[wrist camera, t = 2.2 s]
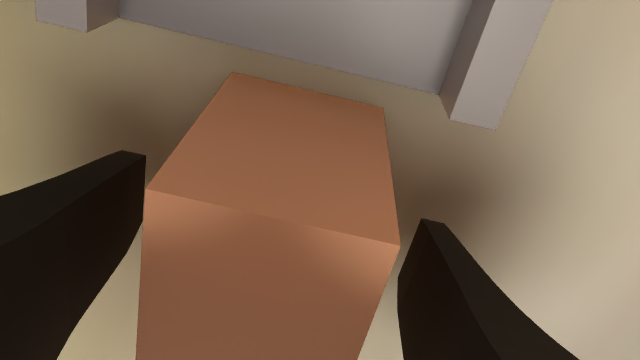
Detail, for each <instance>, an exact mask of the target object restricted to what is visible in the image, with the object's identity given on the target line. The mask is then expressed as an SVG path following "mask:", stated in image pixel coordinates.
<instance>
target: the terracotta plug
mask: <svg viewBox="0 0 640 360" xmlns="http://www.w3.org/2000/svg"><path fill="white" fill-rule="evenodd" d="M400 247H401V243H400V236H399V228H398V220H397V212H396V205H395V197H394V189H393V181H392V173H391V166H390V158H389V150H388V142H387V134H386V127H385V119H384V111H383V108H381V107H376V106H372V105H368V104H364V103H360V102H356V101H351V100H347V99H343V98H339V97H335V96H330V95H326V94H322V93H318V92H314V91H309V90H305V89H301V88H297V87H293V86H288V85H284V84H280V83H276V82H272V81H268V80H263V79H259V78H255V77H251V76H247V75H242V74H238V73H234V72H232V73H231V74H230V76H229V77H228V78H227V80H226V81H225V82H224V84H223V85H222V86H221V88H220V89H219V90H218V92H217V93H216V94H215V96H214V97H213V98H212V100H211V101H210V102H209V104H208V105H207V106H206V108H205V109H204V110H203V112H202V113H201V115H200V116H199V117H198V119H197V120H196V121H195V123H194V124H193V125H192V127H191V128H190V129H189V131H188V132H187V133H186V135H185V136H184V137H183V139H182V140H181V141H180V143H179V144H178V145H177V147H176V148H175V149H174V151H173V152H172V153H171V155H170V156H169V157H168V159H167V160H166V161H165V163H164V164H163V165H162V167H161V168H160V170H159V171H158V172H157V174H156V175H155V176H154V178H153V179H152V180H151V182H150V183H149V184H148V186H147V187H146V188H145V201H144V219H143V237H142V255H141V273H140V291H139V309H138V327H137V345H136V360H357V359H358V356H359V353H360V351H361V348H362V346H363V343H364V340H365V338H366V335H367V333H368V330H369V327H370V325H371V322H372V320H373V317H374V314H375V312H376V309H377V307H378V304H379V301H380V299H381V296H382V294H383V291H384V288H385V286H386V283H387V281H388V278H389V276H390V273H391V270H392V268H393V265H394V263H395V260H396V257H397V255H398V252H399V250H400Z"/></svg>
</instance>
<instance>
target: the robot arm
mask: <svg viewBox="0 0 640 360" xmlns="http://www.w3.org/2000/svg"><path fill="white" fill-rule="evenodd" d="M145 166H146V156H145V155H141V154H137V153H132V152H128V151H123V150H121V151H118V152H115V153H113V154H110V155H107V156H105V157H103V158H100V159H98V160H95V161H93V162H91V163H88V164H86V165H83V166H81V167H79V168H76V169H74V170H71V171H69V172H66V173H64V174H62V175H59V176H57V177H54V178H51V179H48V180H46V181H43V182H40V183H37V184H35V185H32V186H29V187H26V188H23V189H21V190H18V191H15V192H12V193H9V194H5V195H2V196H0V360H57V358H58V356H59V354H60V352H61V351H62V349H63V347H64V345H65V343H66V341H67V340H68V338H69V336H70V334H71V333H72V331H73V330H74V328H75V327H76V325H77V323H78V322H79V320H80V319H81V317H82V316H83V315H84V313H85V312H86V310H87V309H88V307H89V306H90V305H91V303H92V302H93V300H94V299H95V298H96V296H97V295H98V293H99V292H100V290H101V289H102V288H103V286H104V285H105V283H106V282H107V281H108V279H109V278H110V276H111V275H112V273H113V272H114V271H115V269H116V268H117V266H118V265H119V263H120V262H121V260H122V259H123V257H124V256H125V254H126V253H127V251H128V249H129V247H130V245H131V244H132V242H133V240H134V238H135V236H136V234H137V232H138V230H139V227H140V225H141V223H142V221H143V203H144V185H145ZM397 311H398V320H399V328H400V336H401V343H402V350H403V358H404V360H579V359H578V358H577V357H575V356H574V355H573V354H571V353H570V352H569V351H568V350H566V349H565V348H564V347H562V346H561V345H560V344H559V343H557V342H556V341H555V340H554V339H552V338H551V337H550V336H549V335H548V334H546V333H545V332H544V331H543V330H542V329H541V328H540V327H539V326H538V325H536V324H535V323H534V322H533V321H532V320H531V319H530V318H529V317H528V316H526V315H525V314H524V313H523V312H522V311H521V310H520V309H519V308H518V307H517V306H516V305H515V304H514V303H513V302H512V301H511V300H510V299H509V298H508V297H507V296H506V295H505V294H504V293H503V291H502V290H501V289H500V288H499V287H498V286H497V285H496V284H495V283H494V282H493V281H492V279H491V278H490V277H489V276H488V275H487V274H486V273H485V272H484V270H483V269H482V268H481V267H480V266H479V264H478V263H477V262H476V261H475V260H474V258H473V257H472V256H471V255H470V254H469V252H468V251H467V250H466V249H465V247H464V246H463V245H462V244H461V243H460V241H459V240H458V239H457V238H456V236H455V235H454V234H453V233H452V232H451V231H450V229H449V228H448V227H447V226H446V225H445V224H444V223H440V222H435V221H431V220H426V219H422V218H421V220H420V223H419V225H418V228H417V231H416V233H415V236H414V238H413V241H412V243H411V246H410V248H409V251H408V253H407V256H406V258H405V261H404V263H403V266H402V268H401V271H400V273H399V276H398V291H397Z"/></svg>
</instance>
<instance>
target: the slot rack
mask: <svg viewBox="0 0 640 360" xmlns="http://www.w3.org/2000/svg"><path fill="white" fill-rule="evenodd" d="M552 1H553V0H35V8H36V21H40V22H44V23H48V24H53V25H57V26H61V27H65V28H69V29H74V30H78V31H82V32H86V33H87V32H89V31H91V30H93V29H96V28H98V27H100V26H102V25H104V24H106V23H108V22H110V21H112V20H114V19H117V18H123V19H127V20H131V21H135V22H139V23H143V24H147V25H152V26H156V27H160V28H164V29H168V30H172V31H176V32H180V33H185V34H189V35H193V36H197V37H201V38H205V39H209V40H214V41H218V42H222V43H226V44H230V45H234V46H238V47H243V48H247V49H251V50H255V51H259V52H263V53H267V54H272V55H276V56H280V57H284V58H288V59H292V60H296V61H300V62H305V63H309V64H313V65H317V66H321V67H325V68H329V69H334V70H338V71H342V72H346V73H350V74H354V75H358V76H363V77H367V78H371V79H375V80H379V81H383V82H387V83H392V84H396V85H400V86H404V87H408V88H412V89H416V90H420V91H425V92H429V93H433V94H437V95H439V97H440V99H441V101H442V103H443V106H444V108H445V110H446V113H447V115H448V117H449V119H450V120H454V121H458V122H462V123H466V124H471V125H475V126H479V127H483V128H487V129H492V130H496V128H497V126H498V124H499V122H500V119H501V117H502V115H503V113H504V110H505V108H506V106H507V103H508V101H509V99H510V97H511V94H512V92H513V90H514V88H515V85H516V83H517V81H518V79H519V76H520V74H521V72H522V69H523V67H524V65H525V63H526V60H527V58H528V56H529V54H530V51H531V49H532V47H533V45H534V42H535V40H536V38H537V35H538V33H539V31H540V29H541V26H542V24H543V22H544V20H545V17H546V15H547V13H548V10H549V8H550V6H551V4H552Z"/></svg>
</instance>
